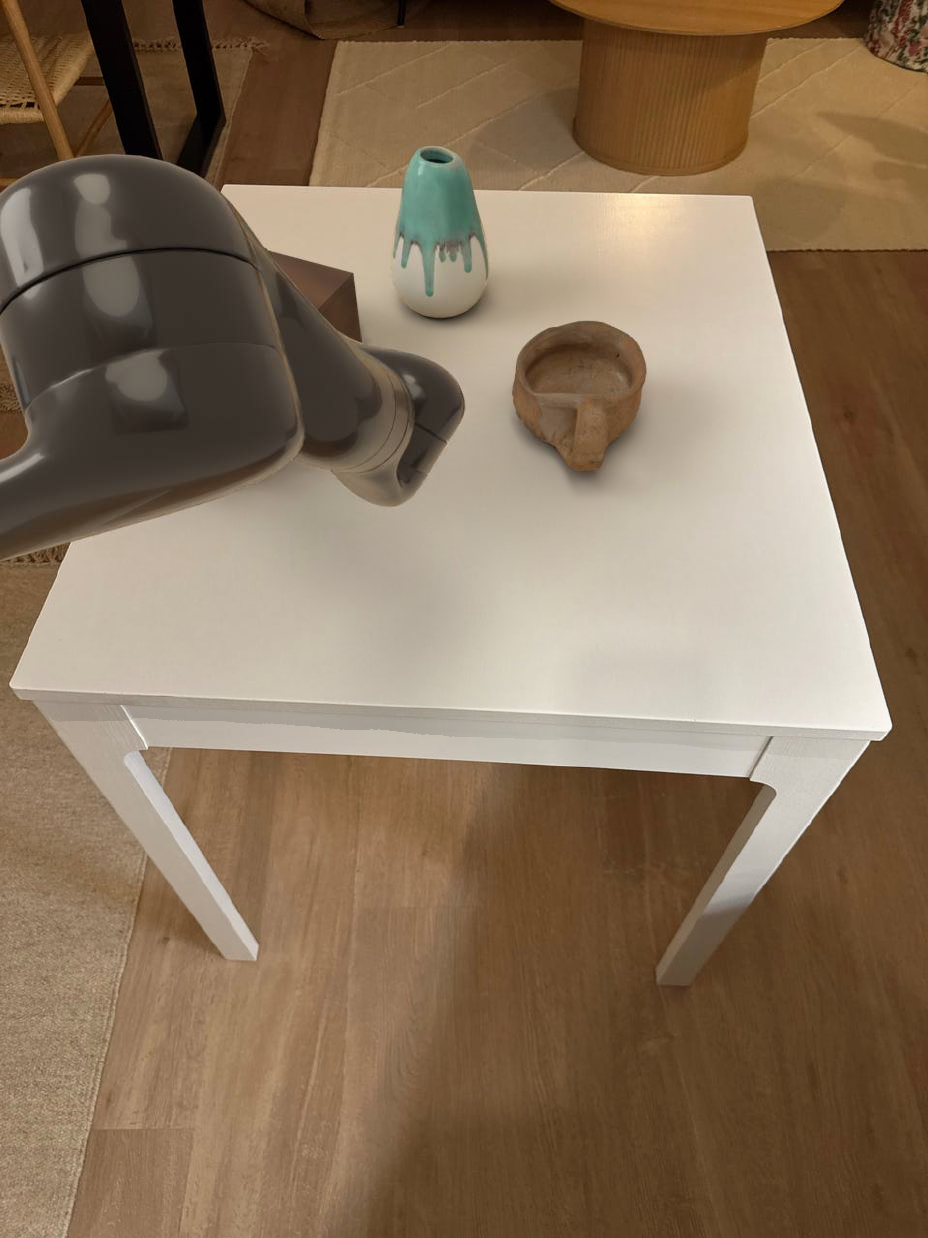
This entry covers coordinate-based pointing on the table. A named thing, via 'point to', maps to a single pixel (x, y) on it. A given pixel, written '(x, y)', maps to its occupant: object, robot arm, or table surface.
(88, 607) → the table surface
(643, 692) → the table surface
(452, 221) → the vase
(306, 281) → the cabinet
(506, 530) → the table surface
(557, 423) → the brown mug
